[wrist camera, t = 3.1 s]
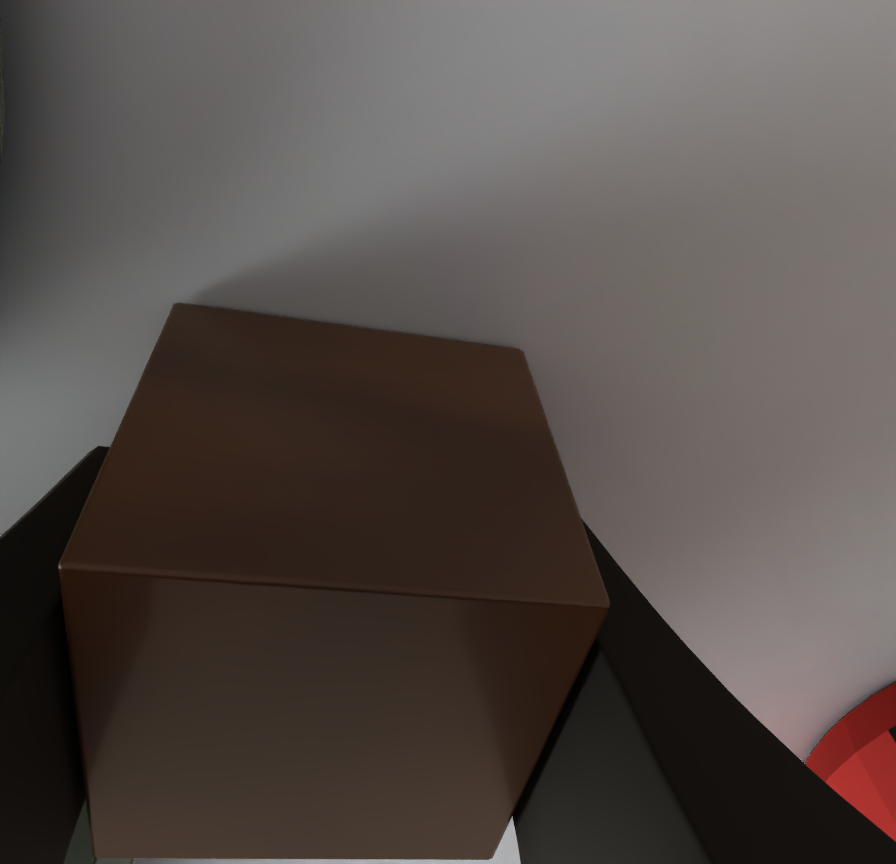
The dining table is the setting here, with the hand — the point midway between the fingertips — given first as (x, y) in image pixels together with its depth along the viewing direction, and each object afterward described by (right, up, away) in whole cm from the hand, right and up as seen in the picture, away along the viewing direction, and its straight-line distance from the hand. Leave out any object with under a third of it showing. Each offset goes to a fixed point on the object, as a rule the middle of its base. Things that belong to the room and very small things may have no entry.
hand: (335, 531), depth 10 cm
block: (0, +1, +1) cm, 1 cm away
